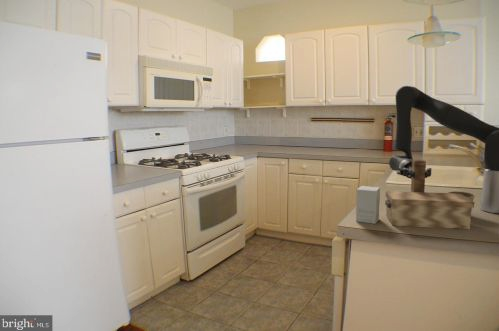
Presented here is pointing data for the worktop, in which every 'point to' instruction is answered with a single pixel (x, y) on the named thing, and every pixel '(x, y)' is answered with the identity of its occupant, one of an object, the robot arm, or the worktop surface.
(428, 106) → the robot arm
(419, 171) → the wooden block
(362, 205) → the supplement box
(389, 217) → the wooden chest
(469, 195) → the flower pot
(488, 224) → the worktop surface
